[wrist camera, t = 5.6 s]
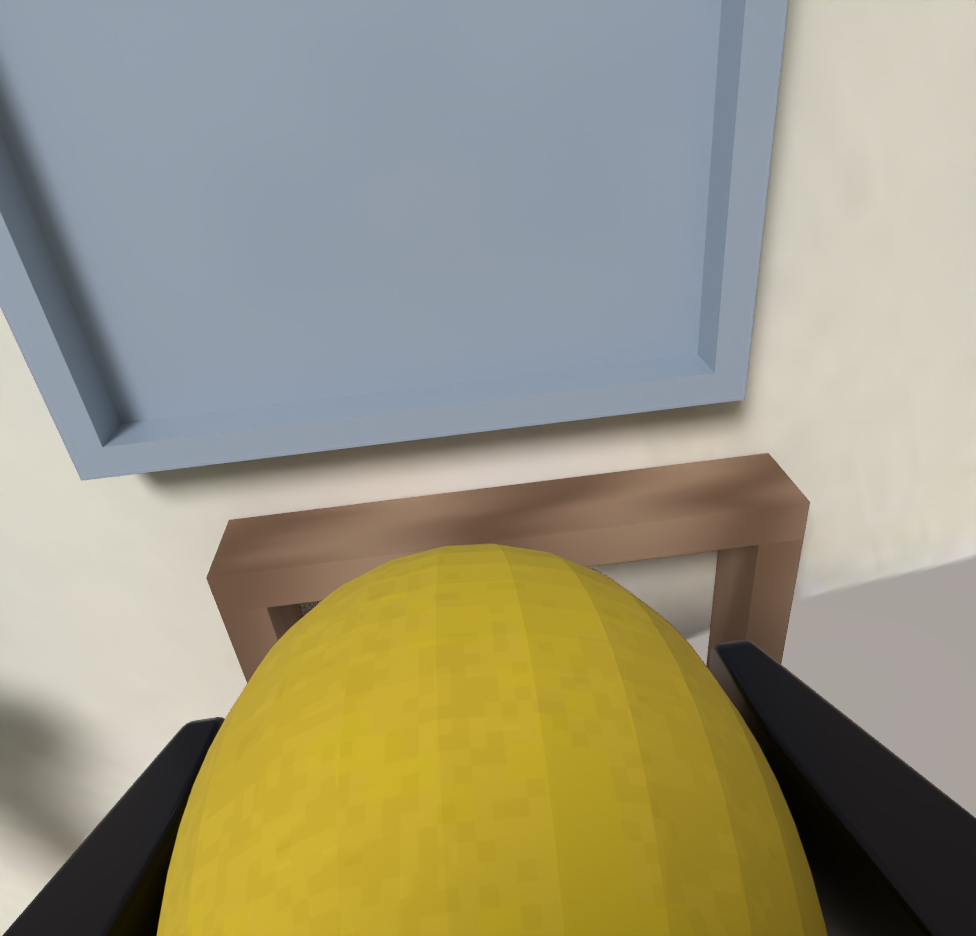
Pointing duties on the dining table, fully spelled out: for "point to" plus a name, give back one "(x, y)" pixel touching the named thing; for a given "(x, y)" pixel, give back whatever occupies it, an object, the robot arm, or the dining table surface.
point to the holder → (533, 542)
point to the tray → (377, 216)
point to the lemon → (486, 772)
